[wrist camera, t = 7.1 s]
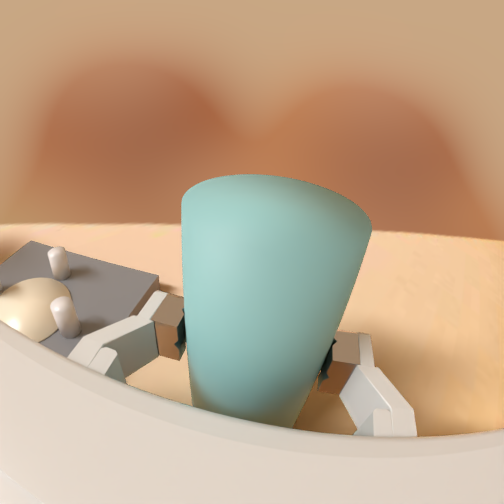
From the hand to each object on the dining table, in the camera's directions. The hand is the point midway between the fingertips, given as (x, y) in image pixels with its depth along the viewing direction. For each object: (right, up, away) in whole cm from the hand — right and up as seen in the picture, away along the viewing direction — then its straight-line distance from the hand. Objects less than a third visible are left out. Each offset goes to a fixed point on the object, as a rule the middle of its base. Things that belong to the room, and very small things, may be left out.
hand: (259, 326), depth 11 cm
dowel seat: (-15, -2, +5) cm, 16 cm away
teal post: (-1, -5, +3) cm, 6 cm away
